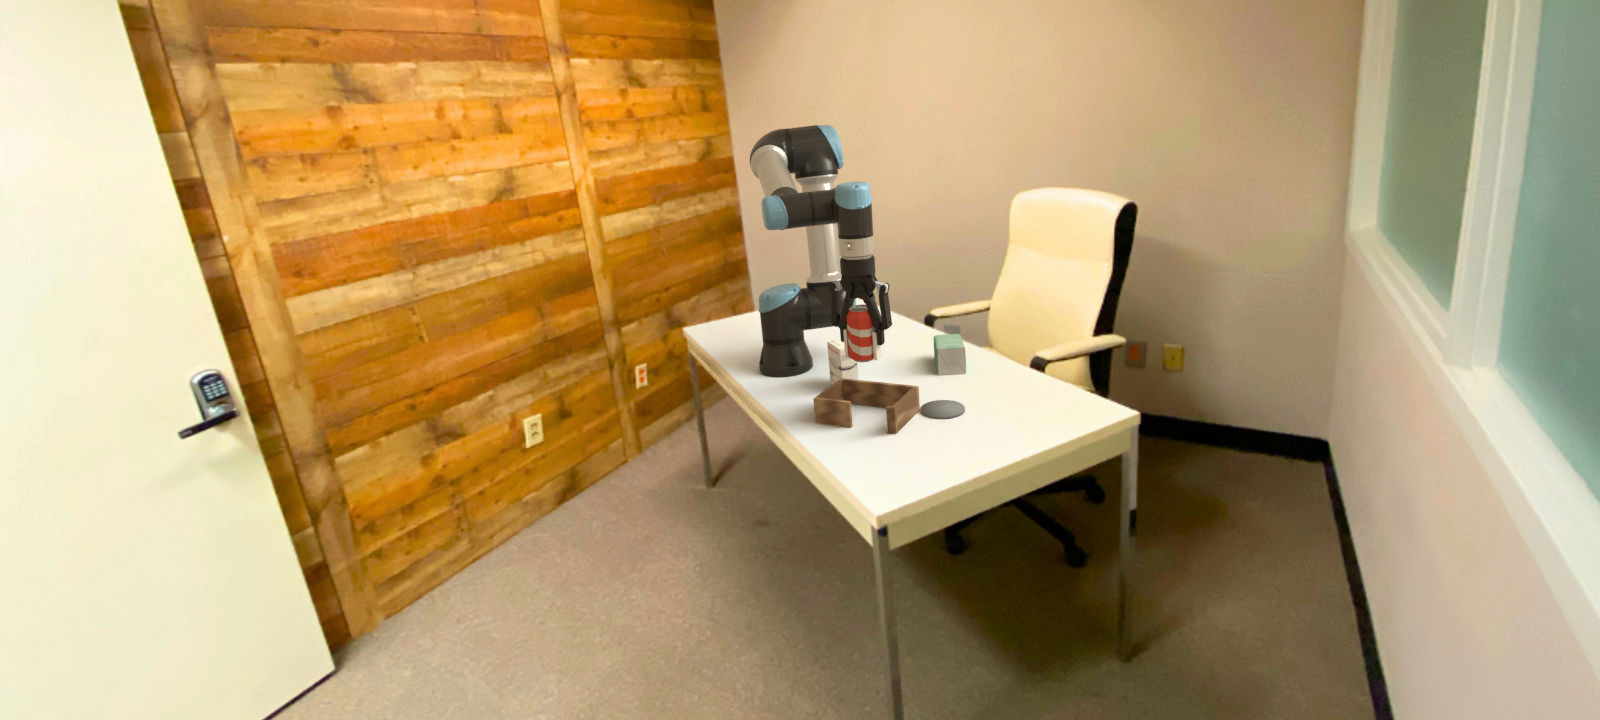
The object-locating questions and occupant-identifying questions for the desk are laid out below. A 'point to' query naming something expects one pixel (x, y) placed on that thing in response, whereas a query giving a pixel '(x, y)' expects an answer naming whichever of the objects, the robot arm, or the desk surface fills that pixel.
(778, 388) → the desk surface
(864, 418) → the desk surface
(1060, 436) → the desk surface
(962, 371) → the box
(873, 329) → the beverage can
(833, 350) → the ink box
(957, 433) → the desk surface
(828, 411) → the wooden enclosure
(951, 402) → the coaster
